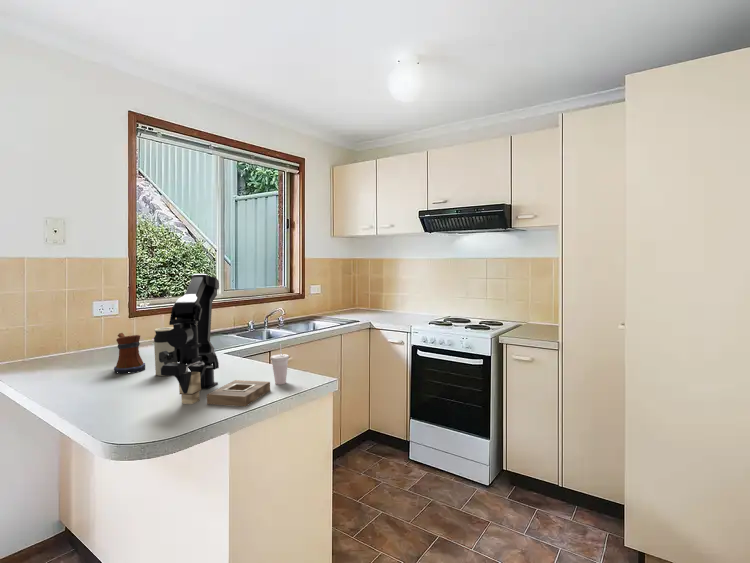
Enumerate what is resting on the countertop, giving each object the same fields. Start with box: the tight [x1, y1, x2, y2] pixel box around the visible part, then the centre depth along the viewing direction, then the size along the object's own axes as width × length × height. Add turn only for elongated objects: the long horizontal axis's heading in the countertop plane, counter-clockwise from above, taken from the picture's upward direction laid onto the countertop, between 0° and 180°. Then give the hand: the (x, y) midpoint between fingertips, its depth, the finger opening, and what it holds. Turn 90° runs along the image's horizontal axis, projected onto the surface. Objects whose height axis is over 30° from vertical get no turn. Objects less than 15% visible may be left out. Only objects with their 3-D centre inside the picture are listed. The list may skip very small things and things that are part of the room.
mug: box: [113, 332, 146, 374], centre depth 179 cm, size 18×12×15 cm, turn 43°
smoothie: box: [270, 343, 290, 385], centre depth 154 cm, size 6×6×14 cm
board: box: [206, 379, 271, 407], centre depth 139 cm, size 16×13×3 cm
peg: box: [178, 372, 202, 405], centre depth 135 cm, size 4×4×9 cm
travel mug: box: [153, 326, 174, 377], centre depth 170 cm, size 8×8×18 cm
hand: (190, 390), depth 135 cm, fingers closed on peg, 4 cm apart
